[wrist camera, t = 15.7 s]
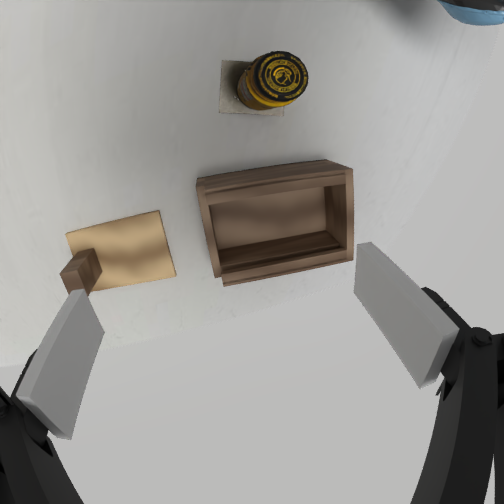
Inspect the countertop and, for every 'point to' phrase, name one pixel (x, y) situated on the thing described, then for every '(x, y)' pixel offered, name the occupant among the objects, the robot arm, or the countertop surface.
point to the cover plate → (118, 254)
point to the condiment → (262, 84)
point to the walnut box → (277, 219)
